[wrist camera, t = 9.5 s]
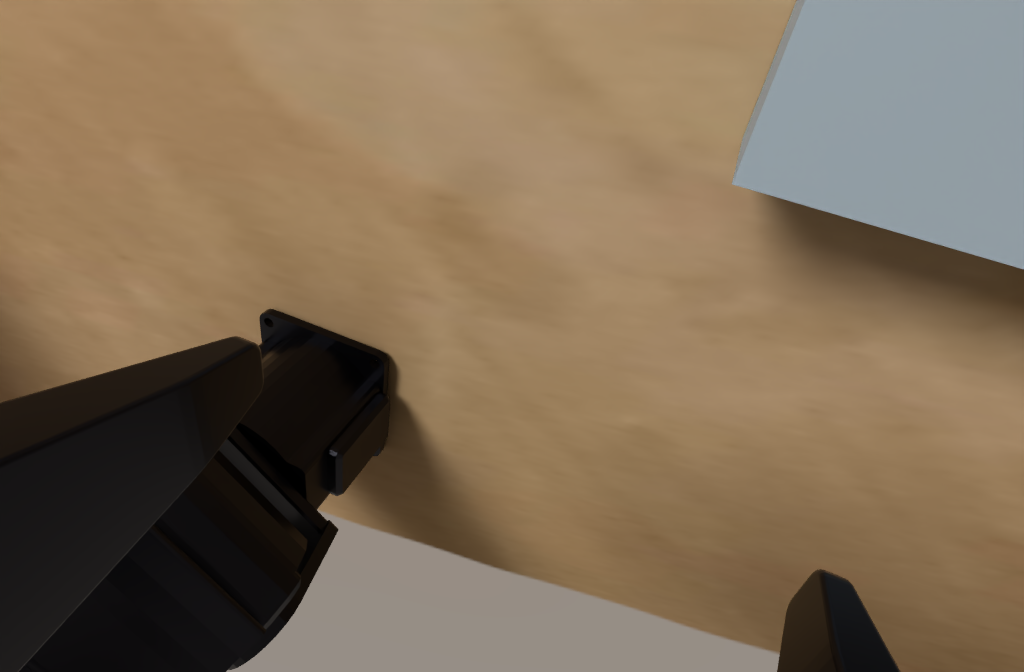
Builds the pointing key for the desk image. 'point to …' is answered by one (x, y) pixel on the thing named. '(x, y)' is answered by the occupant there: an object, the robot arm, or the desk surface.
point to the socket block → (899, 119)
